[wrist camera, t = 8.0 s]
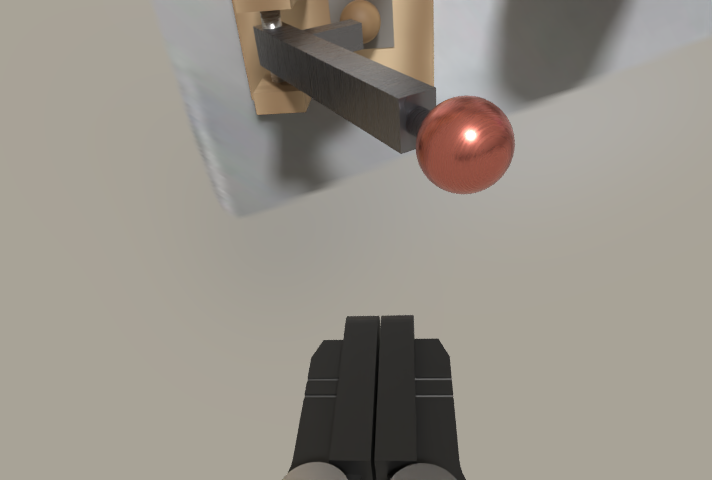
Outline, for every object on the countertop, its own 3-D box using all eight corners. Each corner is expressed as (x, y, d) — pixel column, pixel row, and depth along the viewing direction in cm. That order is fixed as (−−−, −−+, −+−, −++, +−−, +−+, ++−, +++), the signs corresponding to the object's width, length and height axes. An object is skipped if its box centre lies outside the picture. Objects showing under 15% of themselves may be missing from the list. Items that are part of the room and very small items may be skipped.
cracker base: (430, -85, 37) (439, -67, 29) (432, 75, 43) (439, 130, 35) (231, -66, 39) (182, -43, 30) (260, 86, 45) (226, 141, 36)
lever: (335, -7, 35) (608, 69, 20) (341, 58, 38) (590, 173, 22) (235, 13, 33) (456, 119, 17) (249, 82, 35) (454, 230, 20)
